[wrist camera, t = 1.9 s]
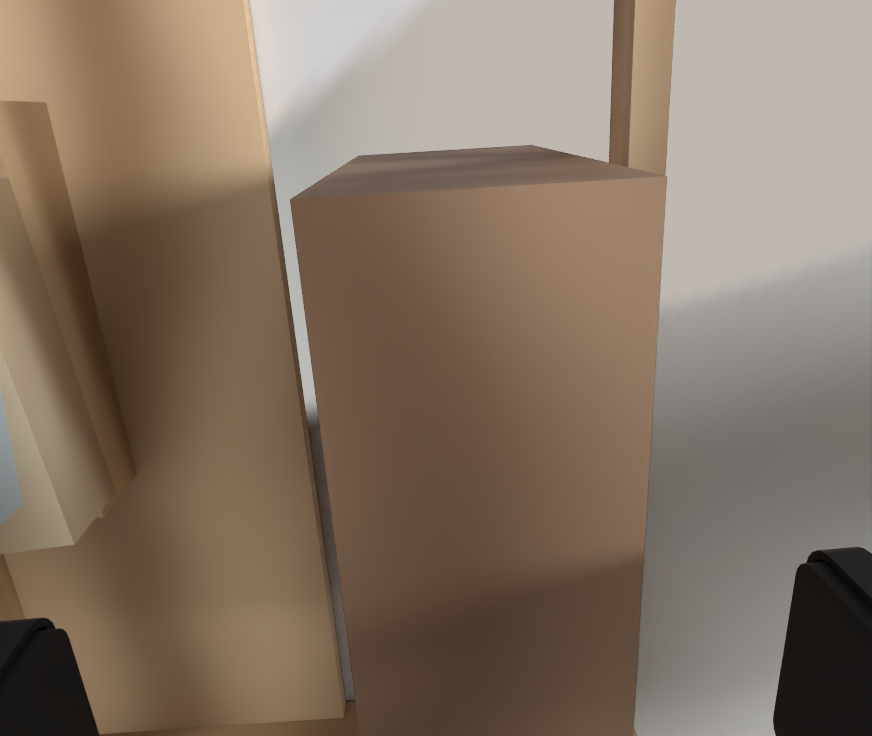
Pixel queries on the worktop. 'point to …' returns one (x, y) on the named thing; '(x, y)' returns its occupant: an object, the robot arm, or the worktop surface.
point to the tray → (208, 365)
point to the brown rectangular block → (486, 431)
